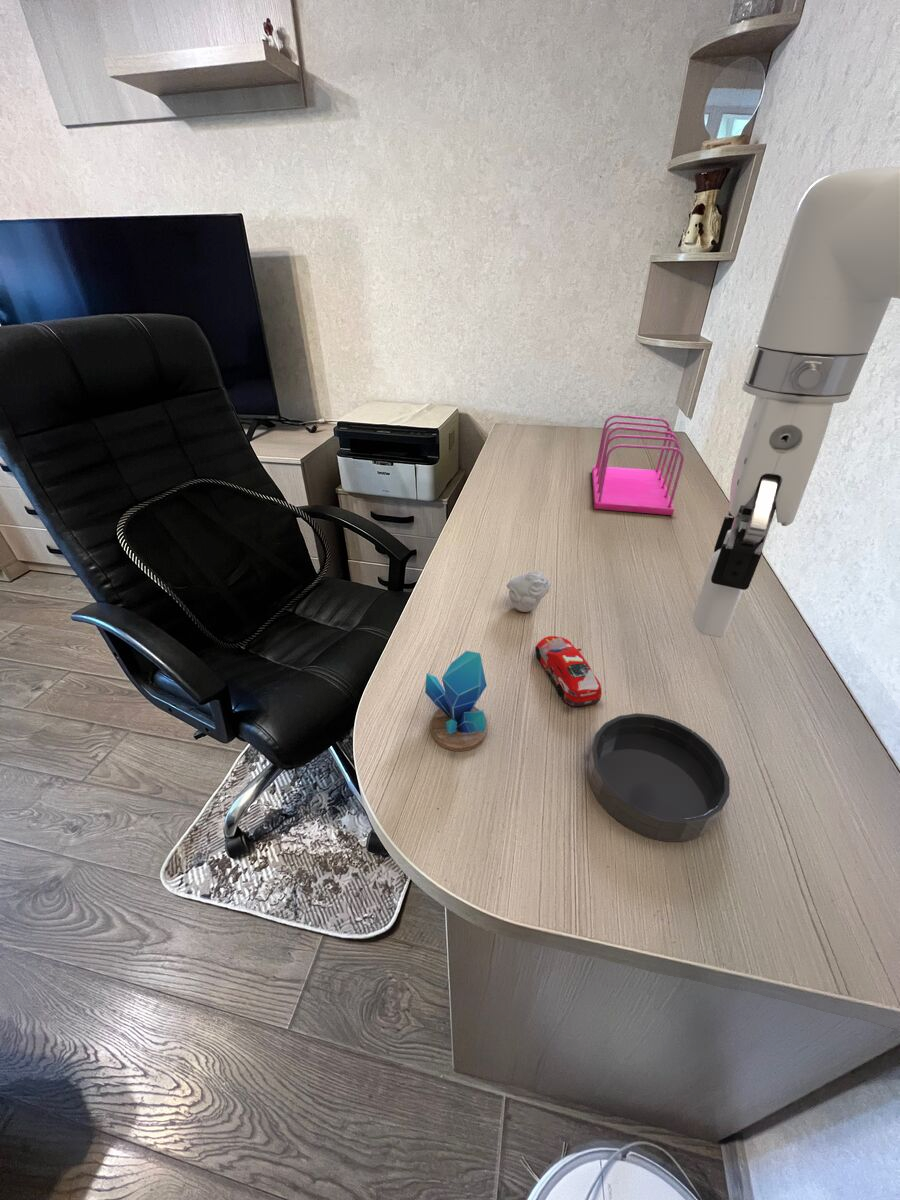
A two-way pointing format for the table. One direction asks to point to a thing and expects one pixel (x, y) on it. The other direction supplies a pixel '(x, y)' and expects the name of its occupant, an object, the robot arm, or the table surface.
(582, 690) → the race car
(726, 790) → the pan
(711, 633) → the eye dropper bottle
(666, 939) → the table surface
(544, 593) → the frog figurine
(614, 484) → the file sorter
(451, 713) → the gemstone
